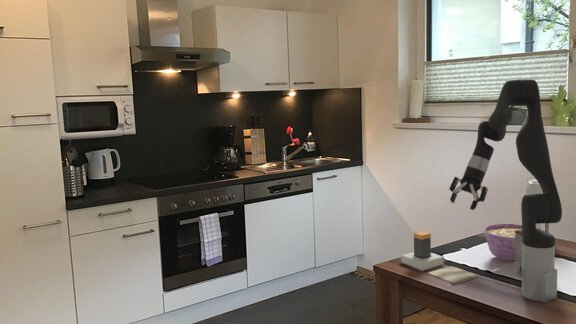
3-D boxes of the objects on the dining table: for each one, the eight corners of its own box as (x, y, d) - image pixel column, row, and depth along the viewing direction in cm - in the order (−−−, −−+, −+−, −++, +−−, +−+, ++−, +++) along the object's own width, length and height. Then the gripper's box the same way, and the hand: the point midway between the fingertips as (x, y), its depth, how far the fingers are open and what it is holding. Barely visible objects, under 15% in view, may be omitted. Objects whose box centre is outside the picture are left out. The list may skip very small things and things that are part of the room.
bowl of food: (528, 250, 206) (529, 223, 204) (549, 267, 186) (549, 237, 184) (477, 251, 208) (477, 224, 206) (492, 268, 188) (492, 238, 186)
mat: (477, 277, 181) (477, 275, 180) (453, 284, 175) (453, 282, 175) (451, 267, 191) (451, 265, 191) (428, 274, 185) (427, 272, 185)
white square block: (443, 265, 194) (443, 256, 193) (422, 271, 188) (422, 262, 188) (422, 258, 203) (422, 249, 203) (401, 263, 198) (401, 255, 198)
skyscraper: (534, 244, 212) (535, 179, 208) (519, 239, 220) (520, 176, 216) (550, 242, 215) (551, 177, 211) (535, 237, 223) (536, 174, 219)
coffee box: (539, 271, 183) (540, 228, 181) (549, 278, 176) (550, 233, 174) (514, 273, 183) (515, 230, 180) (523, 279, 176) (523, 235, 174)
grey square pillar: (430, 263, 195) (430, 233, 193) (422, 266, 193) (421, 235, 191) (422, 260, 199) (422, 231, 197) (414, 263, 197) (413, 233, 195)
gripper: (457, 161, 206) (442, 198, 207) (490, 171, 197) (475, 210, 197) (463, 165, 212) (449, 201, 212) (496, 176, 203) (481, 213, 203)
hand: (461, 206), depth 205 cm, fingers open, 8 cm apart
